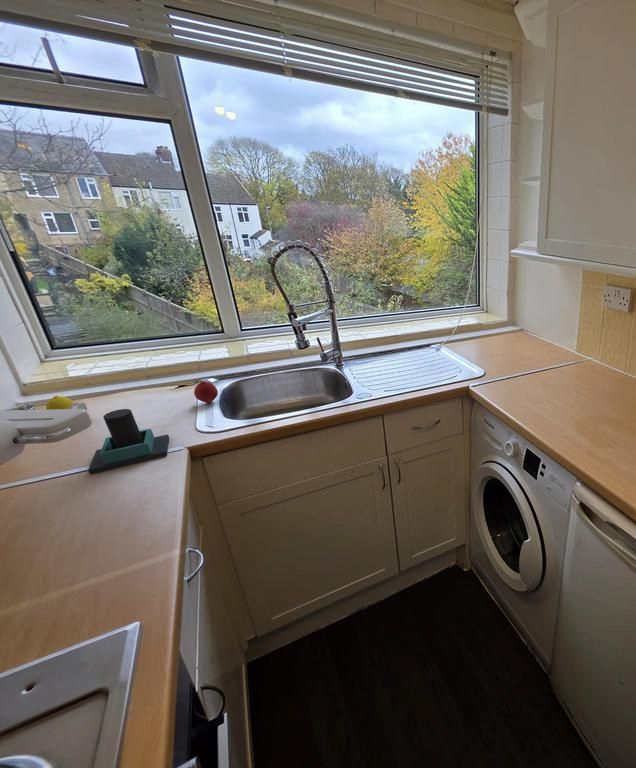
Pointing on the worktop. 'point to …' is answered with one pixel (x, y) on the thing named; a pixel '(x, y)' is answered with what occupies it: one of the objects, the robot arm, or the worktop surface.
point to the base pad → (129, 452)
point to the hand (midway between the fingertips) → (56, 406)
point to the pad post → (123, 428)
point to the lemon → (59, 403)
